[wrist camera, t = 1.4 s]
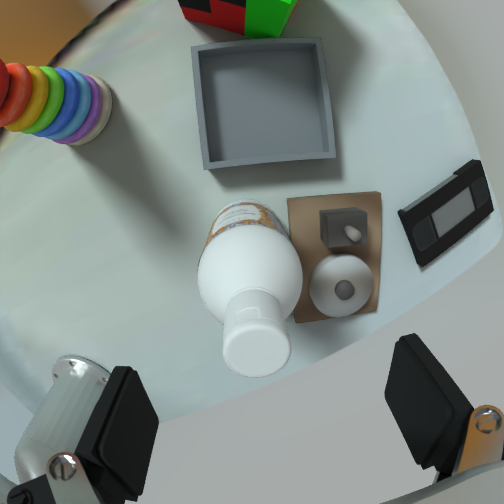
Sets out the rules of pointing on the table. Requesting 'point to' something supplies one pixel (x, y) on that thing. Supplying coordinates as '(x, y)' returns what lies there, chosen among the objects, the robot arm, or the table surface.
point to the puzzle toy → (242, 15)
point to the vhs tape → (447, 212)
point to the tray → (262, 101)
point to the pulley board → (319, 248)
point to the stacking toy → (53, 103)
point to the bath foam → (251, 286)
